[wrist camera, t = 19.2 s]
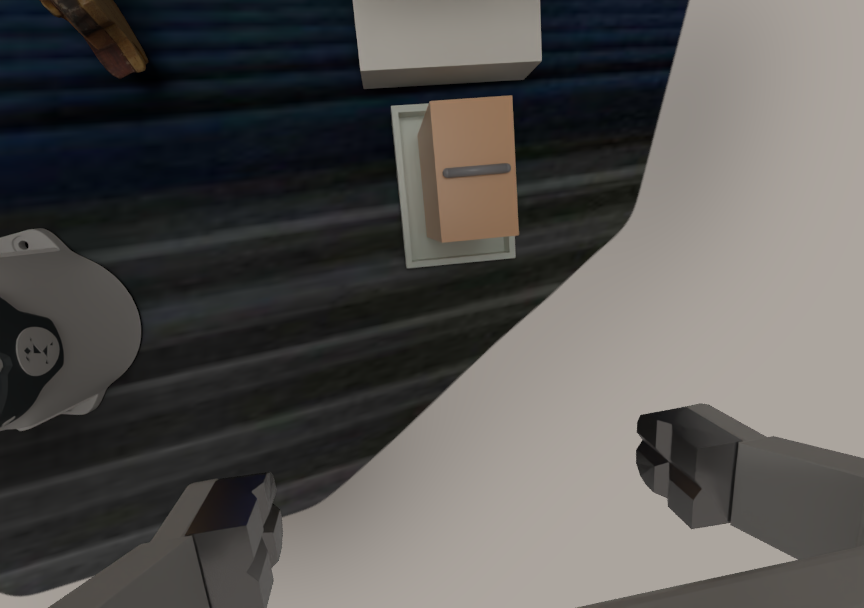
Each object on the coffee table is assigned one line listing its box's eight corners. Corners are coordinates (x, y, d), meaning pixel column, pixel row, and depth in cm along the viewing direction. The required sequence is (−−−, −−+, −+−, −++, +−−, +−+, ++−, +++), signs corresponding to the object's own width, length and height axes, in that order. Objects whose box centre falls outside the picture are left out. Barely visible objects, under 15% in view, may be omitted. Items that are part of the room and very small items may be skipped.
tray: (405, 265, 44) (406, 268, 42) (390, 112, 41) (390, 105, 39) (508, 255, 45) (515, 257, 43) (501, 105, 42) (508, 98, 40)
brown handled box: (426, 237, 43) (443, 243, 31) (417, 135, 41) (430, 98, 29) (483, 231, 44) (521, 235, 31) (476, 130, 42) (514, 92, 29)
